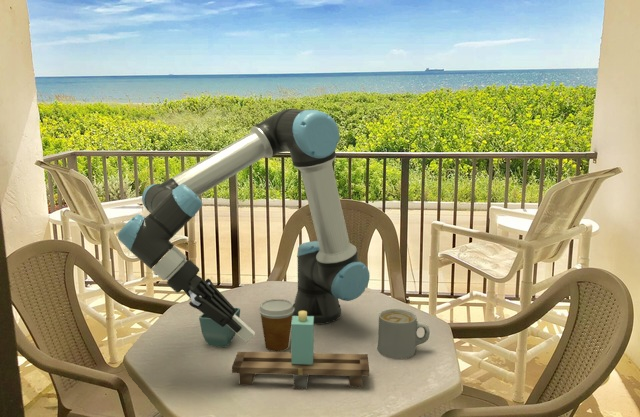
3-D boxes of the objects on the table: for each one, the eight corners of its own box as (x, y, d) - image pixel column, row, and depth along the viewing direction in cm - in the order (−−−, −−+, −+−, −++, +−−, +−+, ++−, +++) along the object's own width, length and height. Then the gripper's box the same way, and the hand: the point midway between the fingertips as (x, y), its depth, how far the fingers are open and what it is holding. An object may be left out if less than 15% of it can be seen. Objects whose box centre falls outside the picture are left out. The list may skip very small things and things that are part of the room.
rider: (291, 369, 135) (291, 316, 132) (293, 359, 140) (292, 307, 137) (312, 370, 135) (312, 316, 132) (313, 360, 140) (313, 308, 137)
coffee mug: (375, 356, 150) (376, 320, 148) (380, 340, 159) (381, 306, 157) (427, 362, 147) (428, 326, 145) (429, 346, 156) (431, 311, 154)
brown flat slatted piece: (232, 387, 134) (231, 368, 133) (238, 369, 143) (238, 350, 142) (368, 390, 133) (369, 371, 132) (367, 371, 142) (367, 353, 141)
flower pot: (230, 351, 152) (229, 320, 150) (199, 348, 154) (198, 317, 152) (241, 337, 161) (240, 307, 159) (212, 335, 162) (210, 305, 160)
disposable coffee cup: (299, 341, 158) (299, 300, 156) (286, 356, 150) (286, 313, 147) (268, 336, 161) (267, 296, 159) (253, 351, 153) (252, 308, 150)
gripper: (173, 271, 140) (244, 335, 143) (157, 290, 127) (235, 360, 130) (194, 251, 139) (264, 316, 142) (179, 268, 126) (257, 339, 129)
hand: (250, 337), depth 136 cm, fingers closed
